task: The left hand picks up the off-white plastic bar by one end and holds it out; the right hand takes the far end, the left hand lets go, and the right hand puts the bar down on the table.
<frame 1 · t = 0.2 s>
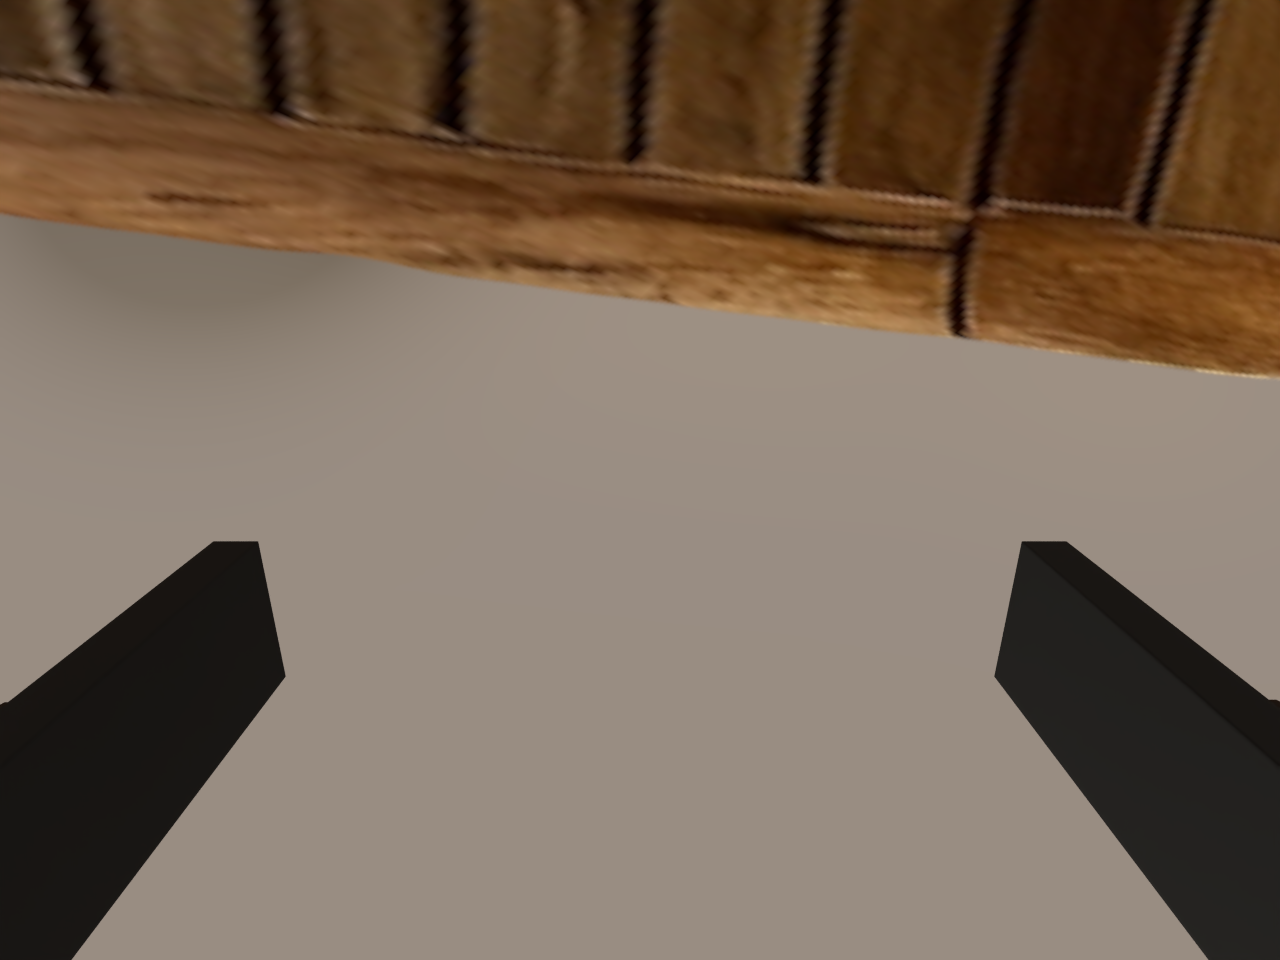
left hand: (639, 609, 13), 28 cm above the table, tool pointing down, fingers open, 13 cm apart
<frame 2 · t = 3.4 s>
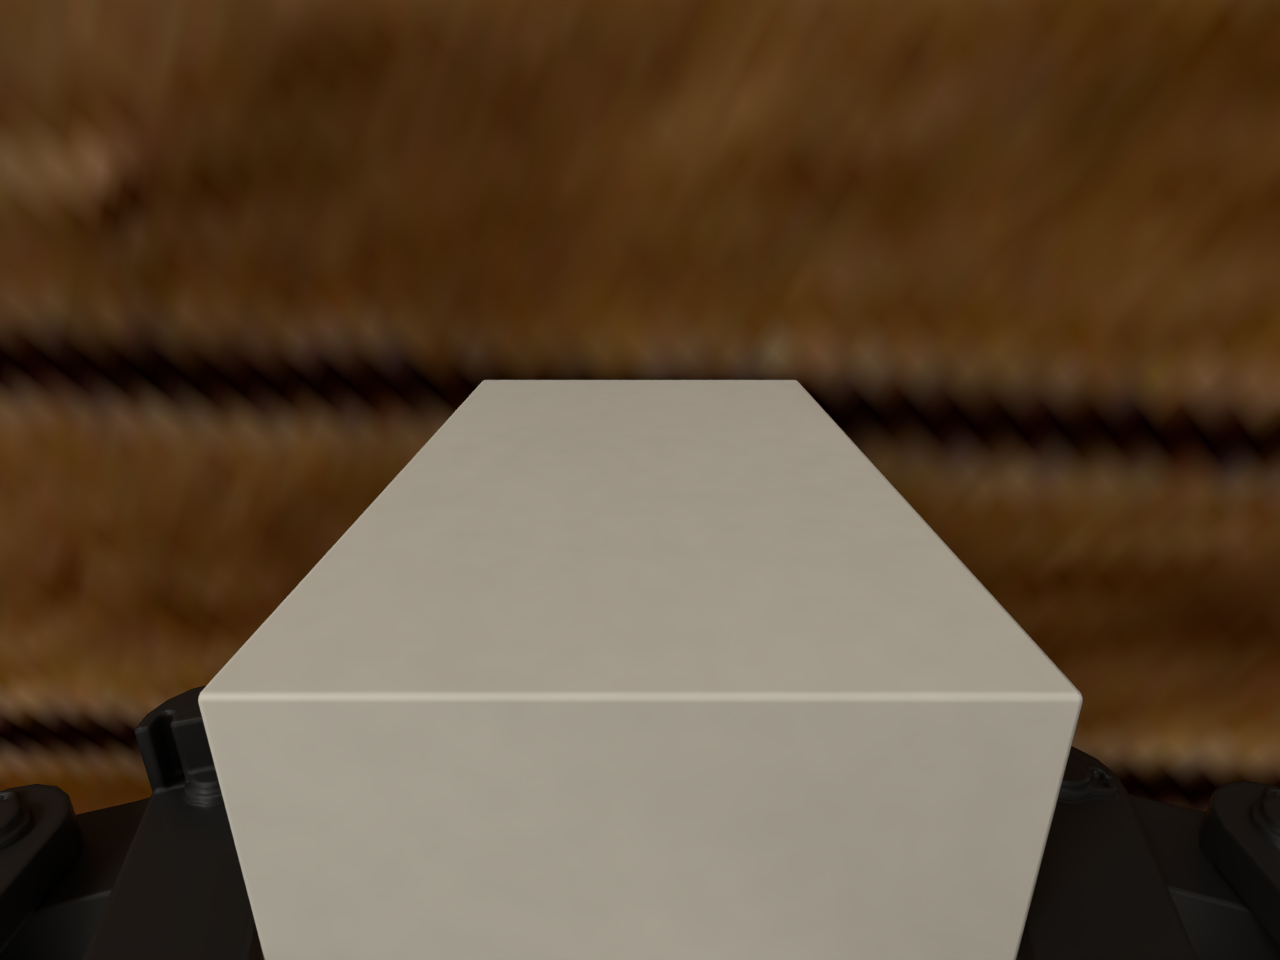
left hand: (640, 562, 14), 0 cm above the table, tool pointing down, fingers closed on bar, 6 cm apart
bar: (640, 872, 18), on the table, touching left hand
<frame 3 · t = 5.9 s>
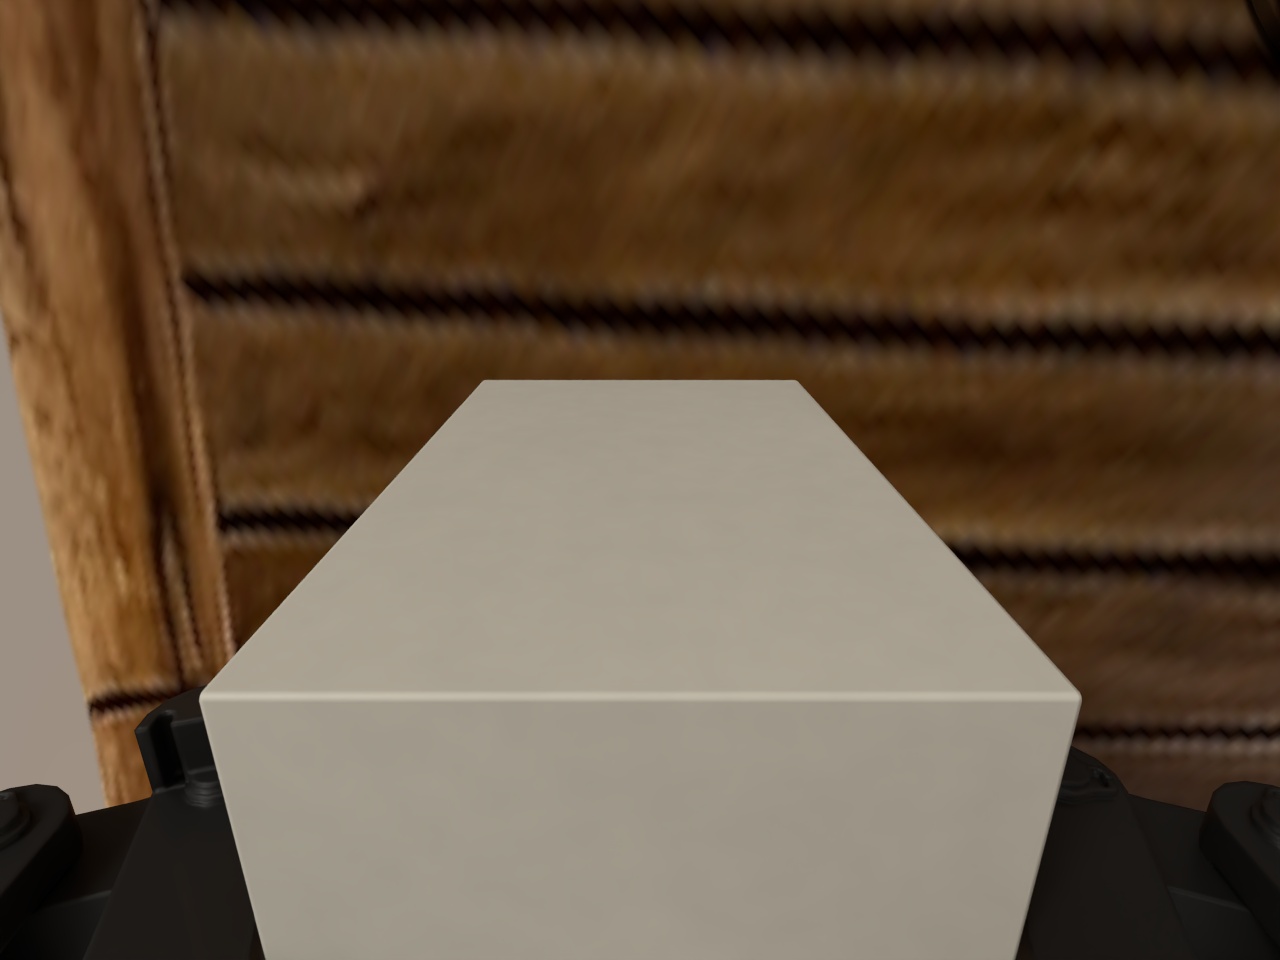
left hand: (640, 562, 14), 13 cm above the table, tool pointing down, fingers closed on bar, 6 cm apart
bar: (640, 871, 18), point 12 cm above the table, touching left hand
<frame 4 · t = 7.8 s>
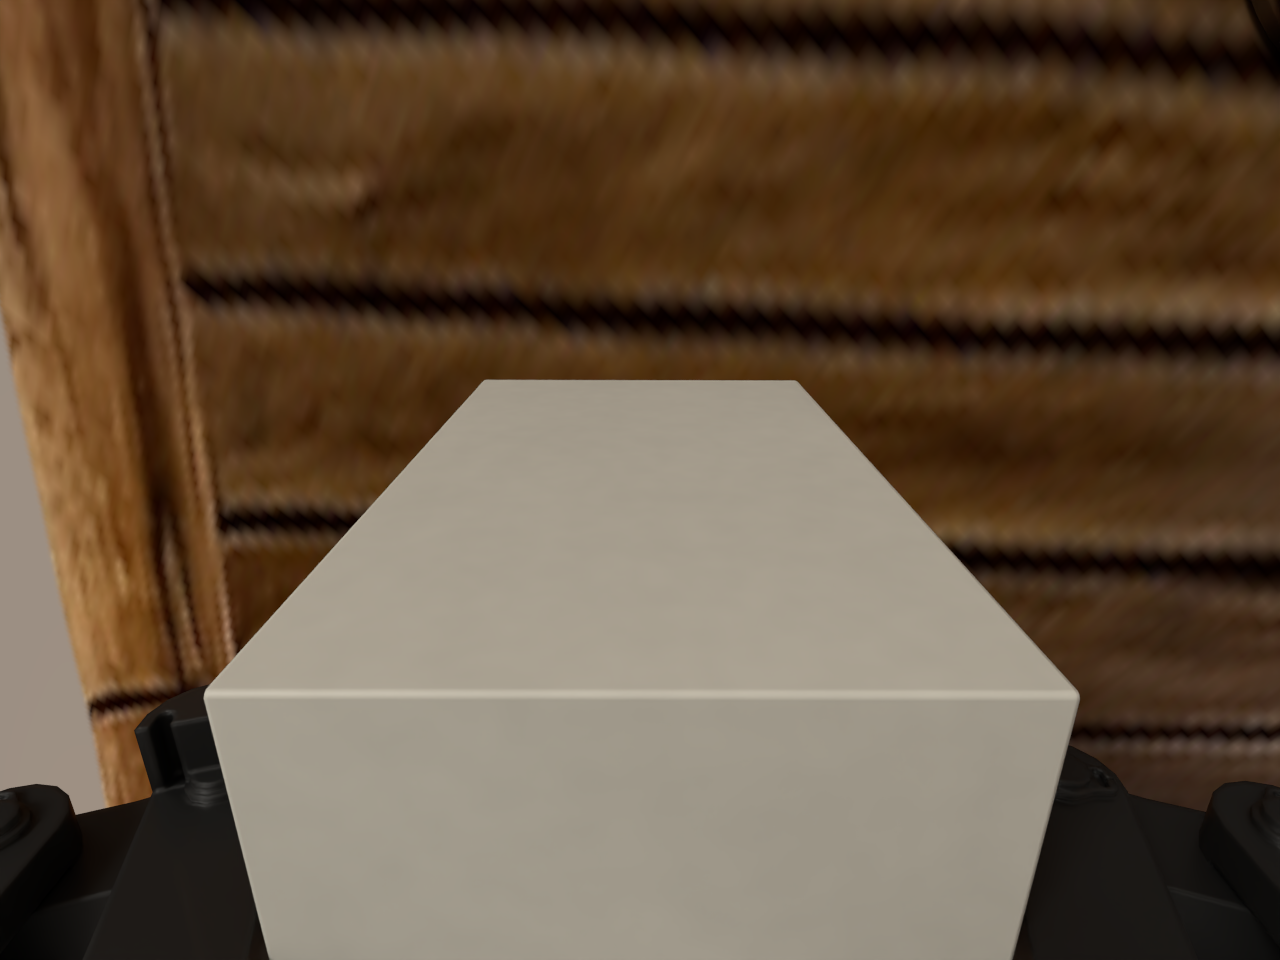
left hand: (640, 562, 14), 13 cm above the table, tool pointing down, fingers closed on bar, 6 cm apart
bar: (639, 870, 18), point 12 cm above the table, touching left hand, right hand
when the left hand's fingers open (13 cm above the table, at t = 8.7 s): bar stays where it is, held by the right hand.
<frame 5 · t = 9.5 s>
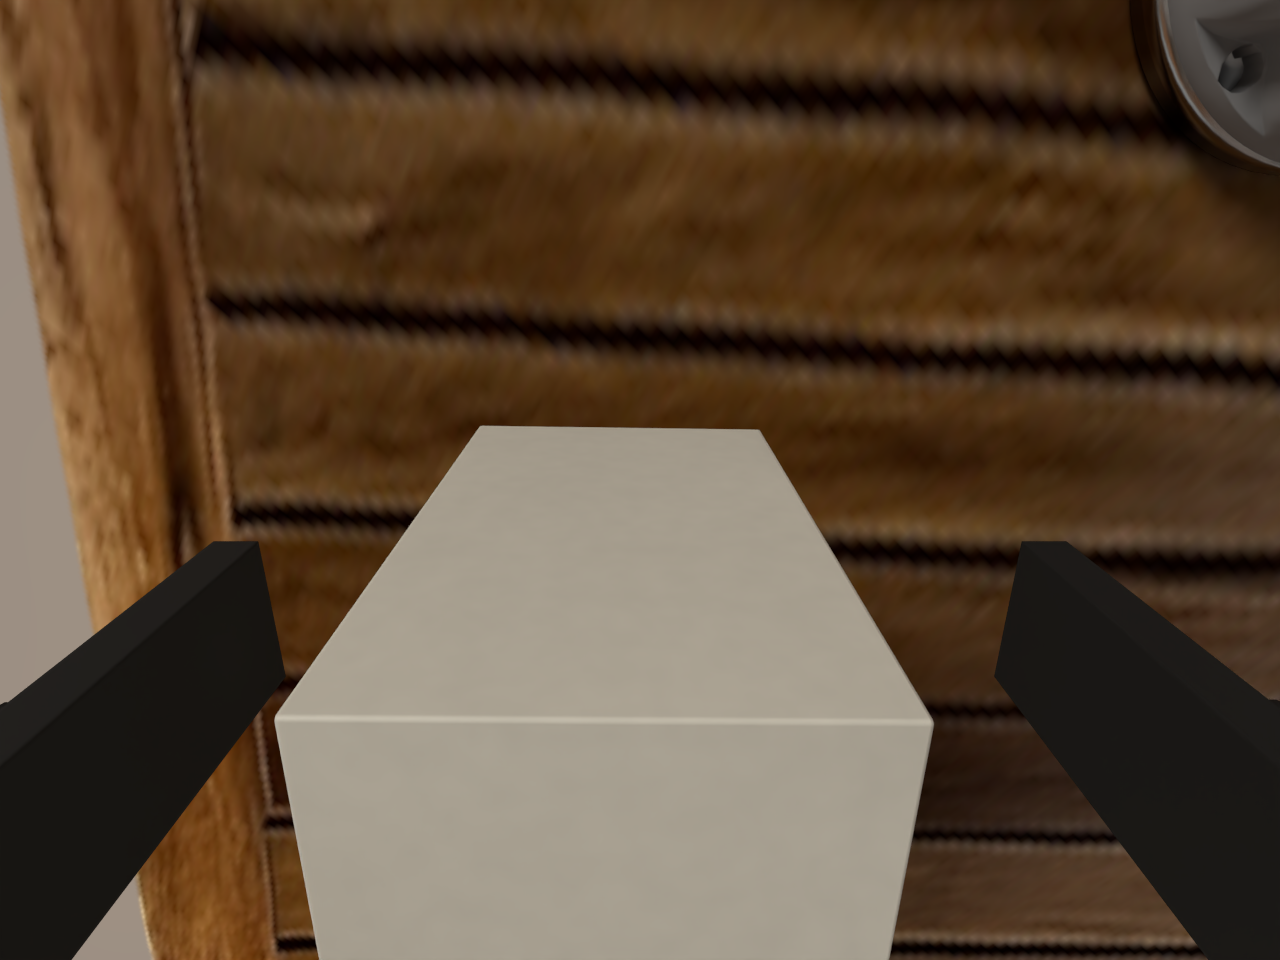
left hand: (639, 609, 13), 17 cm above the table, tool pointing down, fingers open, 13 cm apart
bar: (616, 870, 20), point 14 cm above the table, touching right hand
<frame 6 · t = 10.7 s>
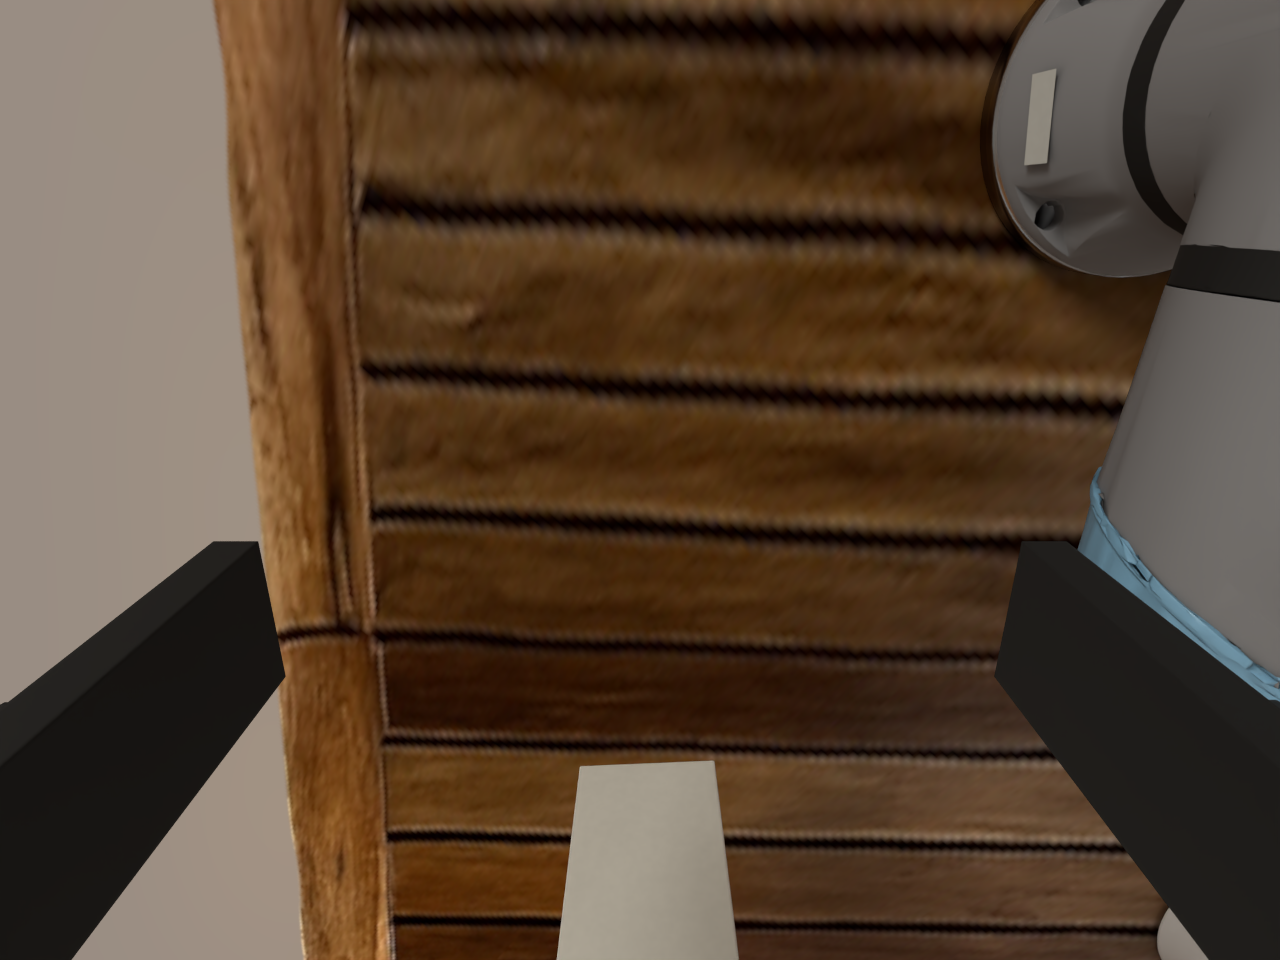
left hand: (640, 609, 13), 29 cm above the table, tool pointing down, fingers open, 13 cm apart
when the right hand's fingers open (6 cm above the table, at t = 13.7 s): bar drops 1 cm, on the table.
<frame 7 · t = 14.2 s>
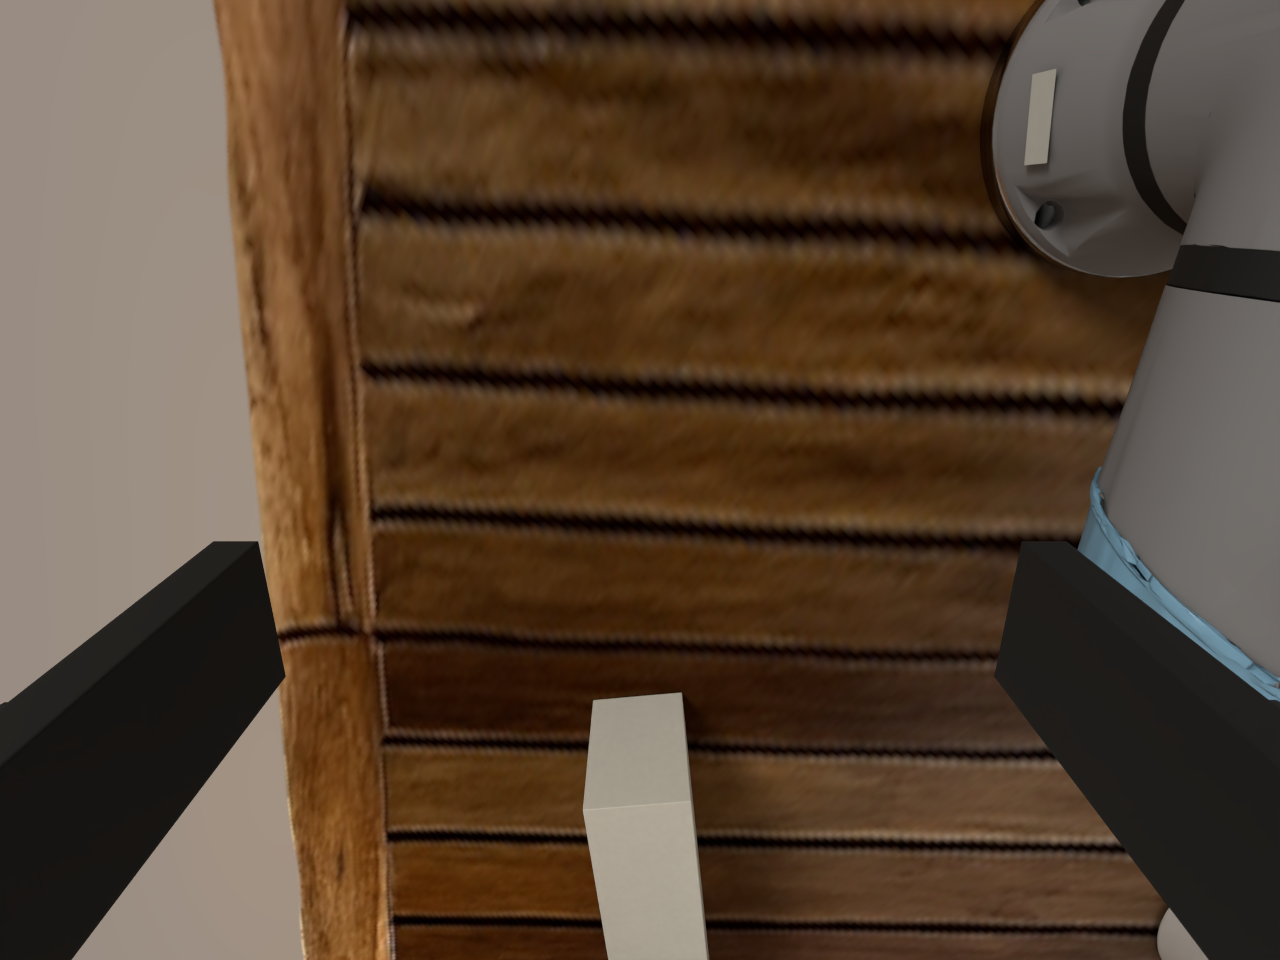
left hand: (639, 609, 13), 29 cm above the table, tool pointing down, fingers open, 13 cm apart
bar: (655, 837, 53), on the table
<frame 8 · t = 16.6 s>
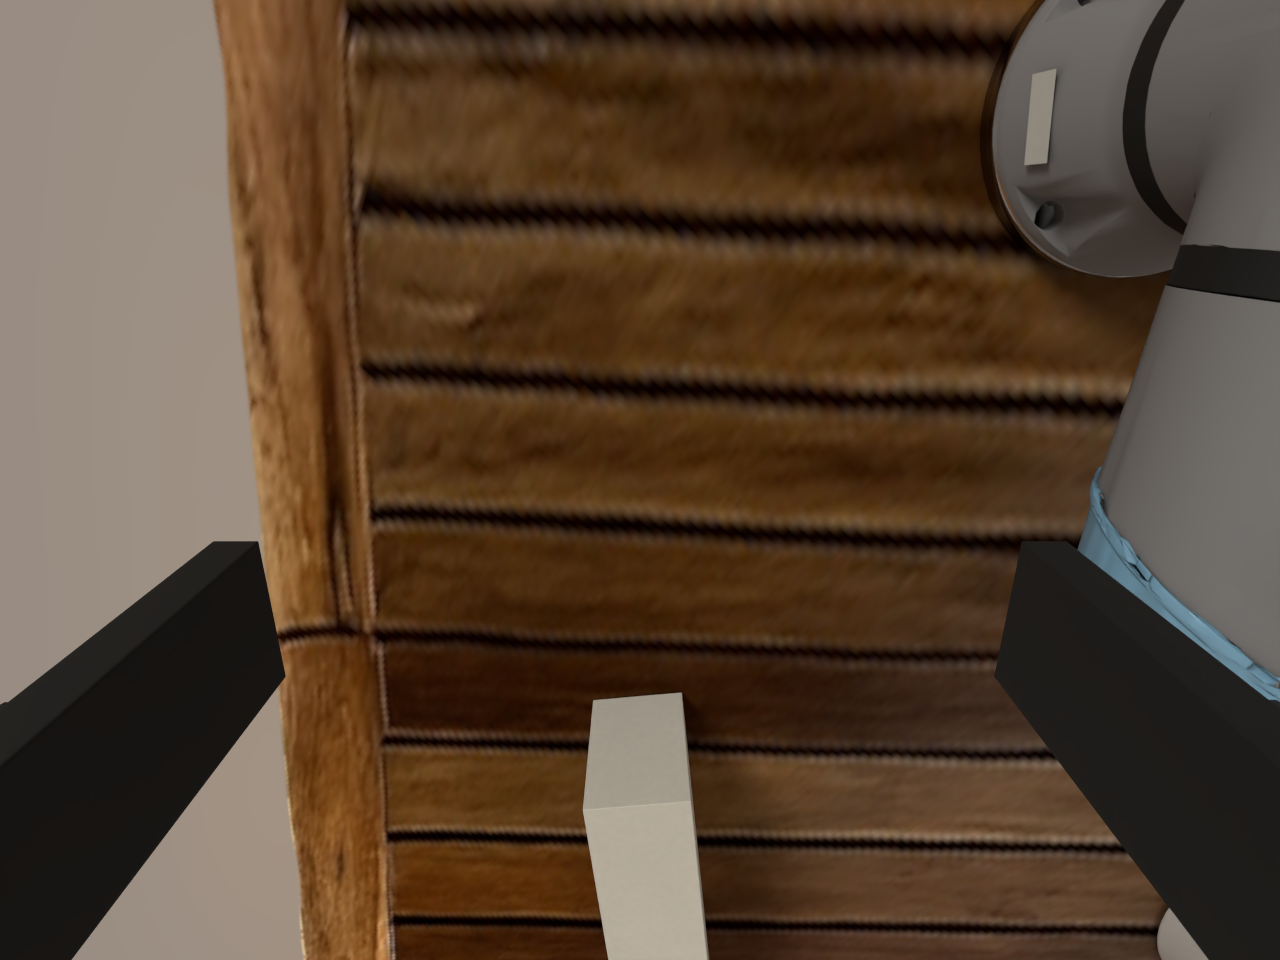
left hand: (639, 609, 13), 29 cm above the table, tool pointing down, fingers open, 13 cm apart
bar: (655, 837, 53), on the table
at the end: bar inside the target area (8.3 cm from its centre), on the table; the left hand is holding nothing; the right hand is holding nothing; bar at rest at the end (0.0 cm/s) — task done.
